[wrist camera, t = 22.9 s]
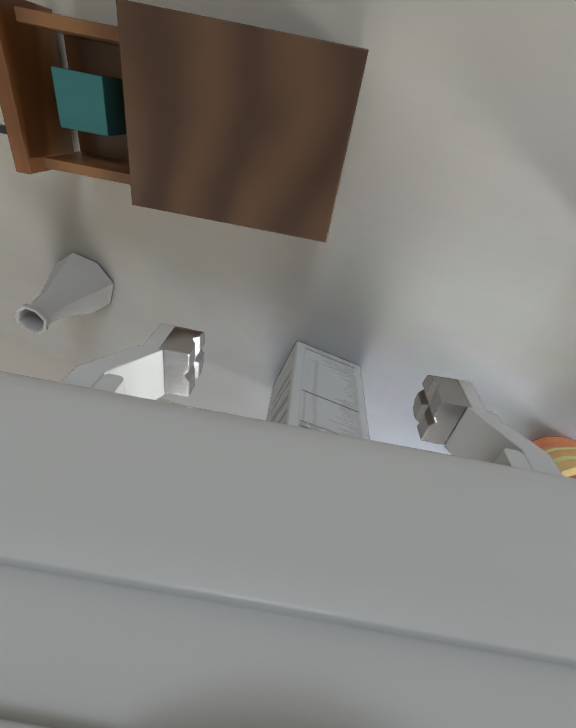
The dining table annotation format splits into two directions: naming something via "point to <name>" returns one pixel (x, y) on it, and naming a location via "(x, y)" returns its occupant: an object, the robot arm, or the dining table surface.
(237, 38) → the cabinet
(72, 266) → the flask
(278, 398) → the supplement box
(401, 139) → the dining table surface
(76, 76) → the block
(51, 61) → the drawer
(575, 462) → the potted cactus
